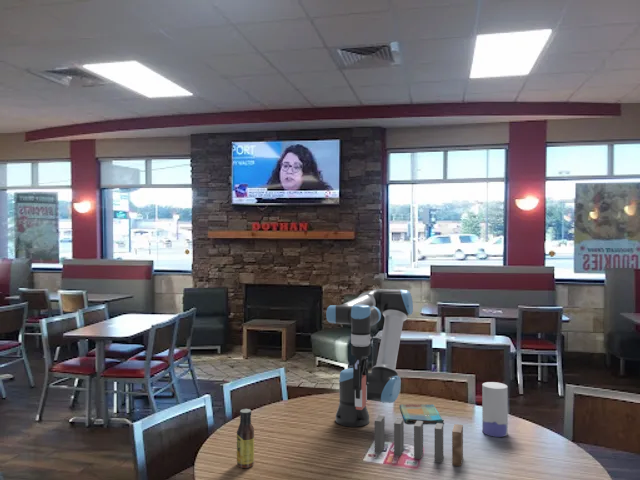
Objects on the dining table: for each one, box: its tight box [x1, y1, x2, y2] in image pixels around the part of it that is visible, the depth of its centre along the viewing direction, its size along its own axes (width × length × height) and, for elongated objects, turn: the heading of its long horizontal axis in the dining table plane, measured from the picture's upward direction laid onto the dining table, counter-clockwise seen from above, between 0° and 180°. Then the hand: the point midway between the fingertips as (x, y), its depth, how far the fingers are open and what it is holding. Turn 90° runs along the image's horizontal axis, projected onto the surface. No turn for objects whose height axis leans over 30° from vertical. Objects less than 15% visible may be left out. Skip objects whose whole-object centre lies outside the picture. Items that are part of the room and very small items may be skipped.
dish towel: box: [399, 403, 445, 425], centre depth 235 cm, size 17×23×2 cm
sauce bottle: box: [236, 408, 255, 469], centre depth 182 cm, size 7×6×20 cm
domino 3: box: [413, 420, 424, 460], centre depth 190 cm, size 2×6×12 cm, turn 159°
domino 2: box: [393, 417, 405, 457], centre depth 193 cm, size 2×6×12 cm, turn 159°
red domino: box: [356, 375, 367, 410], centre depth 198 cm, size 2×6×12 cm, turn 159°
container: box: [481, 381, 509, 438], centre depth 213 cm, size 10×10×20 cm
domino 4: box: [434, 423, 444, 463], centre depth 187 cm, size 2×6×12 cm, turn 159°
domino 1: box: [374, 415, 386, 454], centre depth 195 cm, size 2×6×12 cm, turn 159°
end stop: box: [451, 423, 464, 467], centre depth 185 cm, size 3×8×12 cm, turn 159°
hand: (360, 403), depth 198 cm, fingers closed on red domino, 6 cm apart
